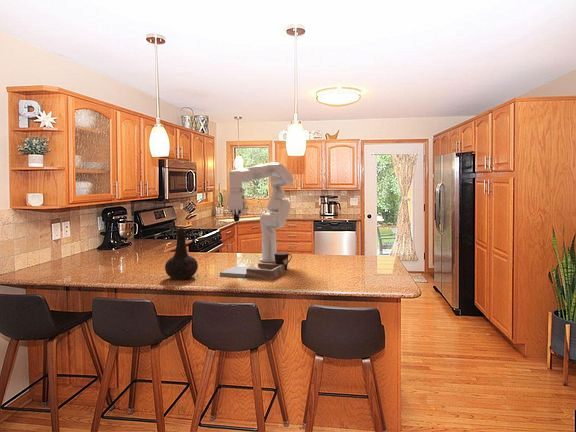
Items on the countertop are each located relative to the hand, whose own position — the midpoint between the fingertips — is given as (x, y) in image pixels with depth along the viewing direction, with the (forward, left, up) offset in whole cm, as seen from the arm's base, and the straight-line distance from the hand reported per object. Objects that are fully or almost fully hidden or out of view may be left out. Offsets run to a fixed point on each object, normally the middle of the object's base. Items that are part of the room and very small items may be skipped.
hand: (236, 221), depth 273 cm
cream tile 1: (+11, +16, -28) cm, 34 cm away
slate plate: (+11, +7, -29) cm, 32 cm away
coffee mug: (-6, +28, -29) cm, 41 cm away
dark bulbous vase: (+31, -19, -29) cm, 47 cm away
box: (+11, +24, -29) cm, 39 cm away
